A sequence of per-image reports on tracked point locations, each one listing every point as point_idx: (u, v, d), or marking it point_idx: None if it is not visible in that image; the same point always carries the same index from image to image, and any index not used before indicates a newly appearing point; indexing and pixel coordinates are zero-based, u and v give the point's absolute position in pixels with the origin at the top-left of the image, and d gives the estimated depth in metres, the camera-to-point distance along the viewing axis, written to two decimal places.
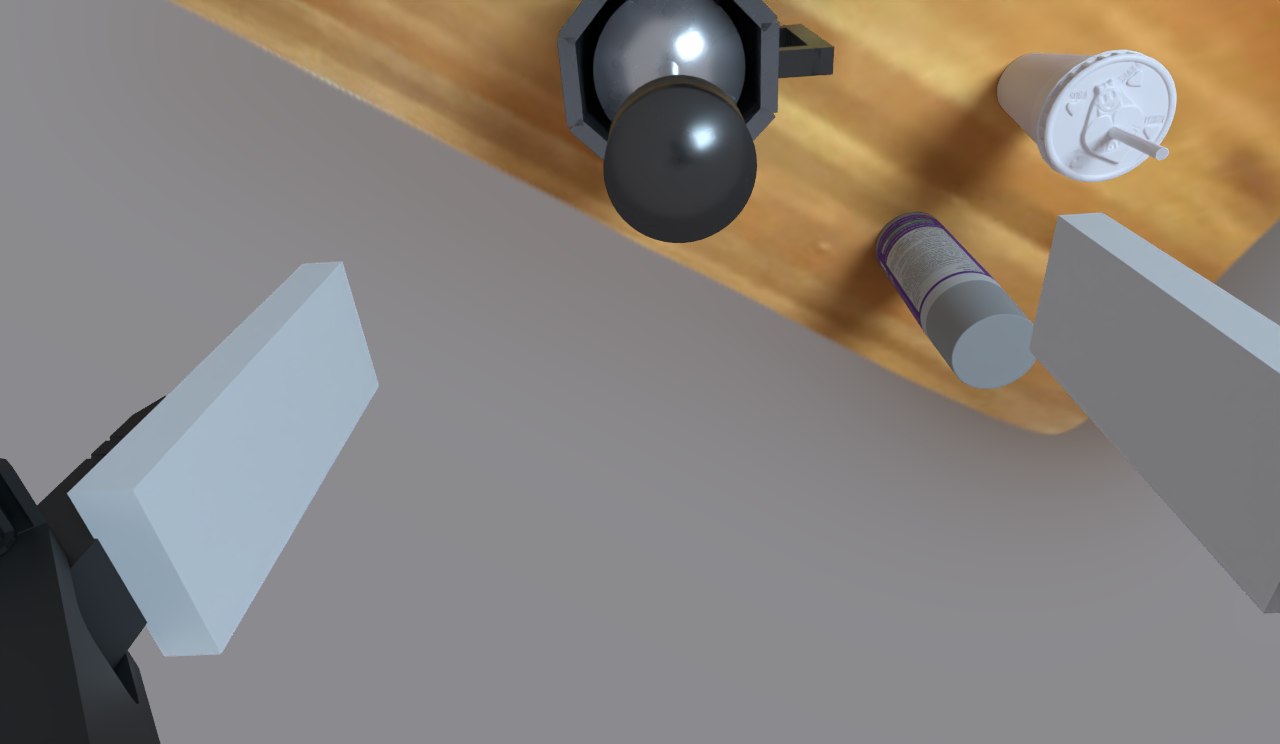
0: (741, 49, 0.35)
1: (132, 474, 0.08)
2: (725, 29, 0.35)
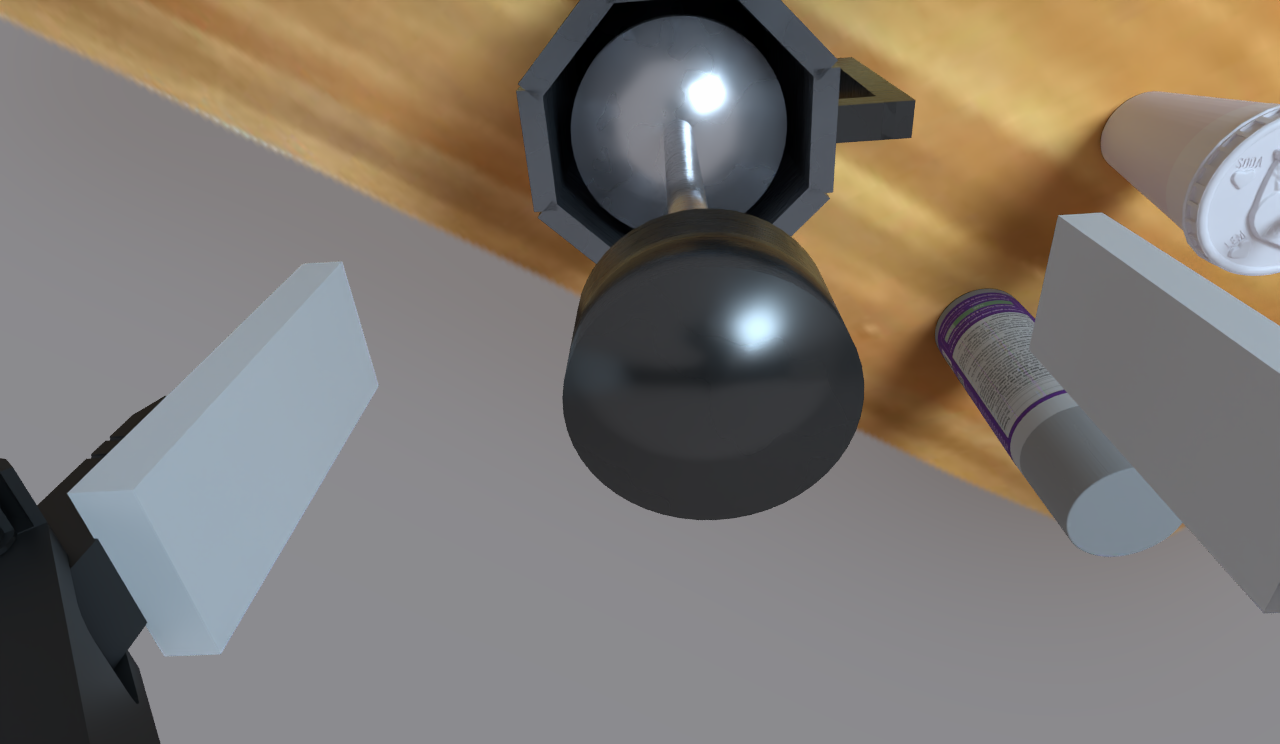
0: (782, 103, 0.25)
1: (132, 474, 0.08)
2: (759, 75, 0.24)
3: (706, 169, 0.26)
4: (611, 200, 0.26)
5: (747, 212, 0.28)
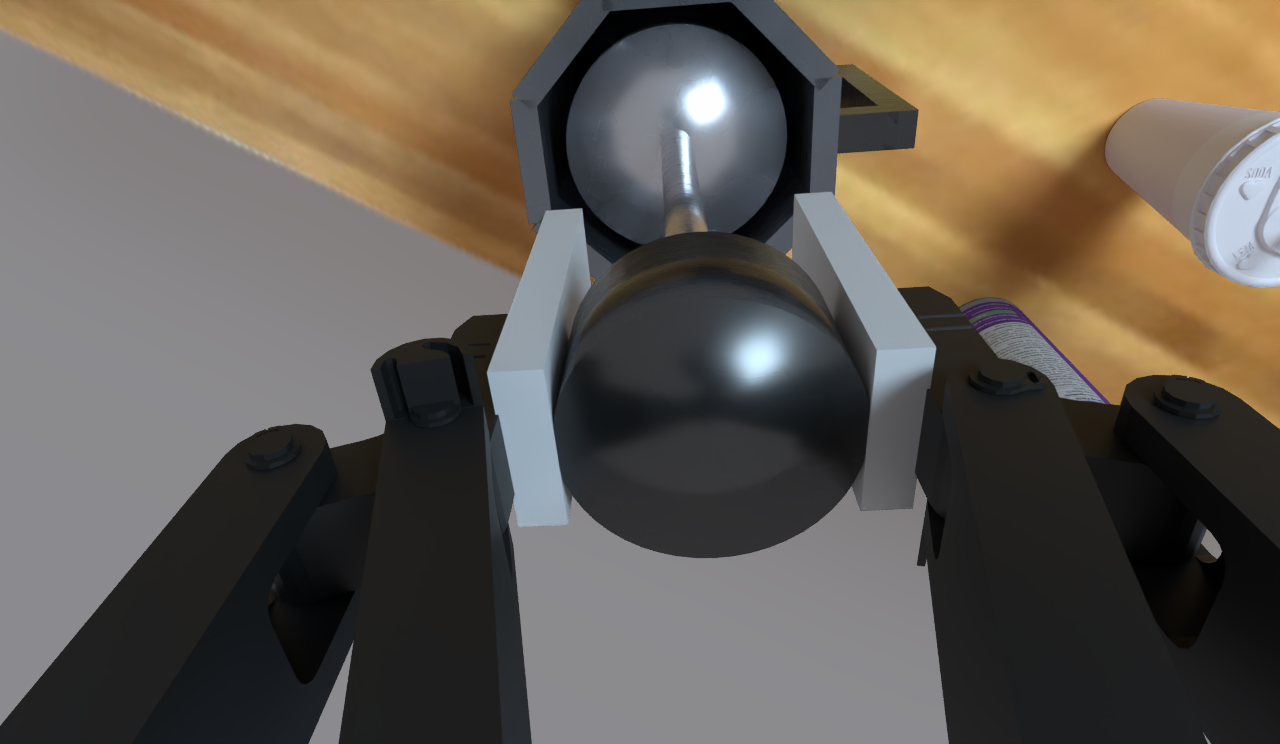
0: (782, 113, 0.24)
1: (532, 359, 0.10)
2: (759, 84, 0.24)
3: (704, 180, 0.25)
4: (607, 211, 0.26)
5: (746, 223, 0.28)
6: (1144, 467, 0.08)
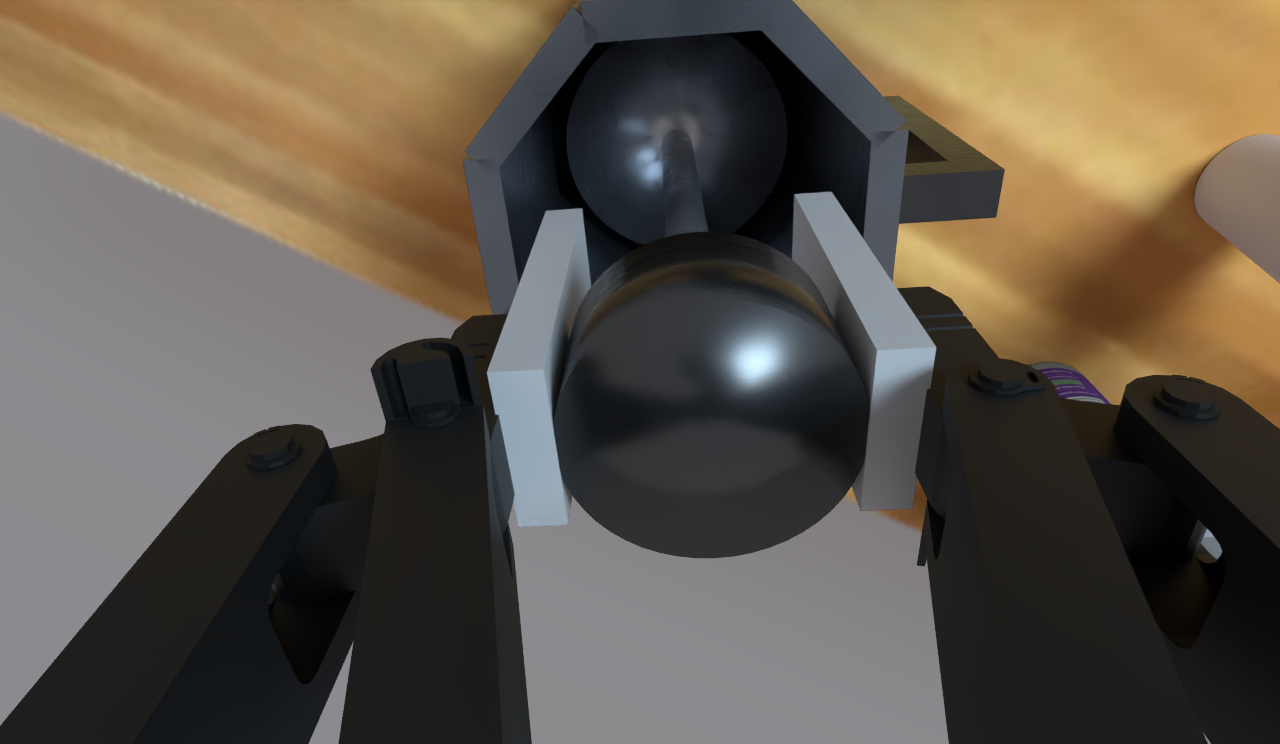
0: (782, 113, 0.24)
1: (532, 359, 0.10)
2: (759, 84, 0.24)
3: (705, 180, 0.25)
4: (608, 211, 0.26)
5: None
6: (1144, 467, 0.08)
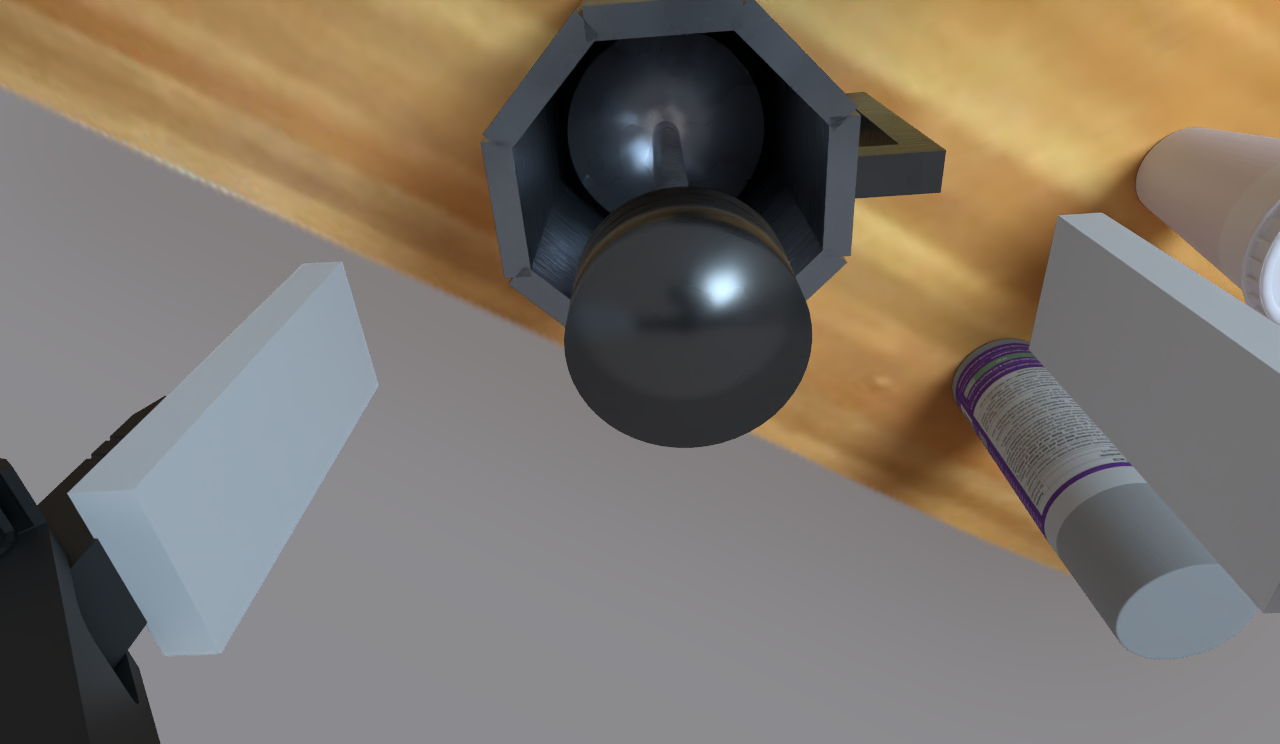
0: (759, 106, 0.27)
1: (132, 474, 0.08)
2: (738, 80, 0.27)
3: (691, 166, 0.28)
4: (604, 195, 0.29)
5: None
6: None
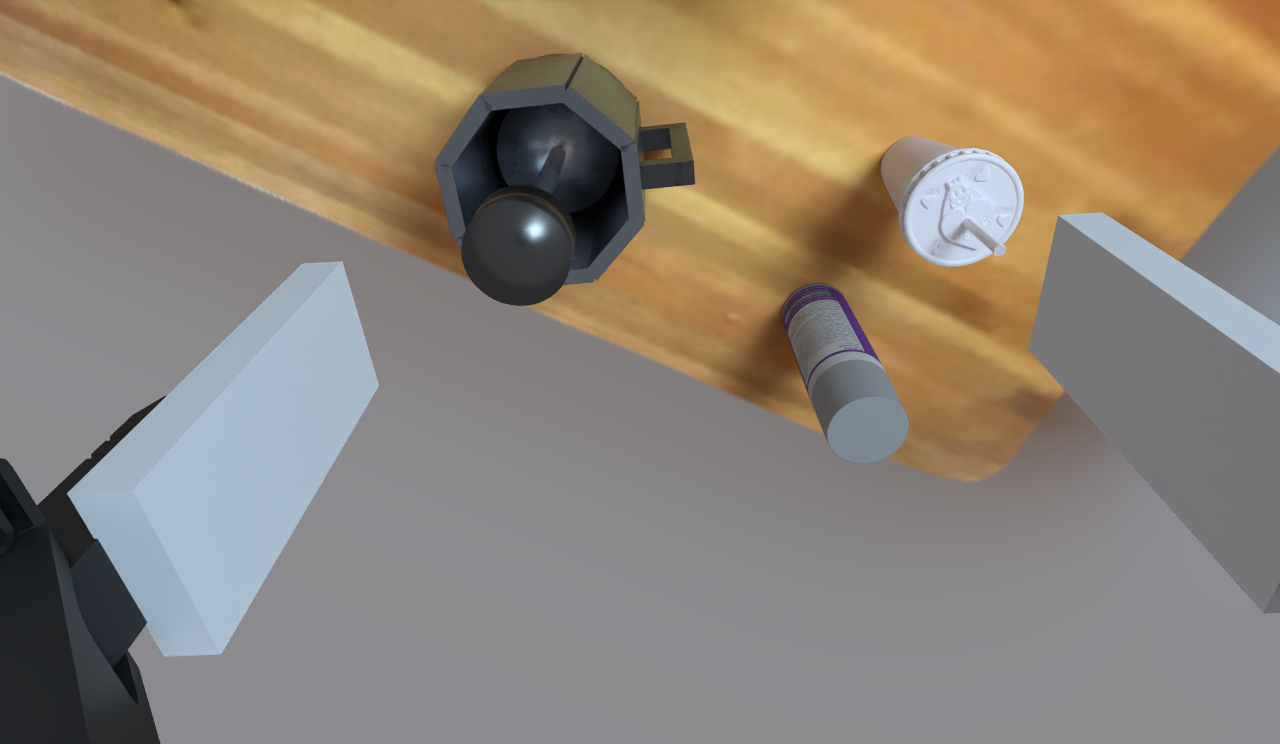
0: None
1: (132, 474, 0.08)
2: None
3: (575, 173, 0.45)
4: None
5: (602, 235, 0.42)
6: None
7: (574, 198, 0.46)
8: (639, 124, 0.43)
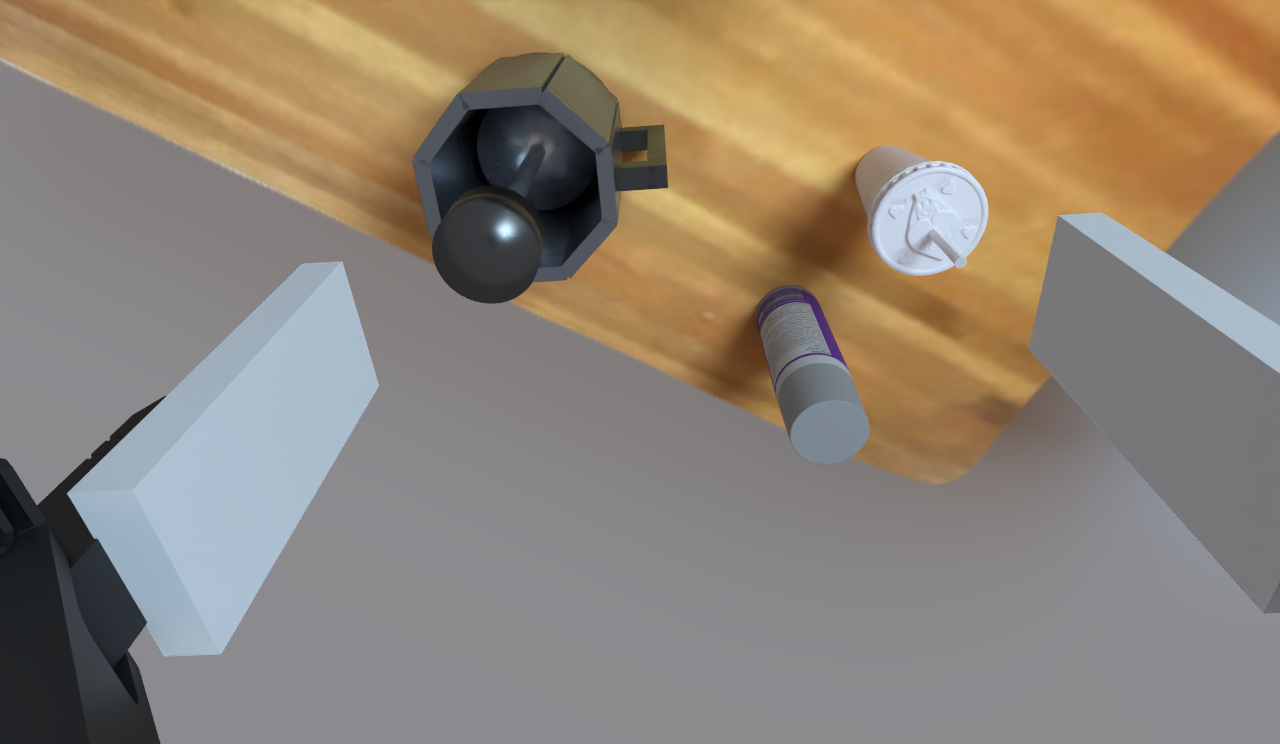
0: None
1: (132, 474, 0.08)
2: None
3: (554, 171, 0.46)
4: None
5: (577, 233, 0.42)
6: None
7: (552, 195, 0.47)
8: None
